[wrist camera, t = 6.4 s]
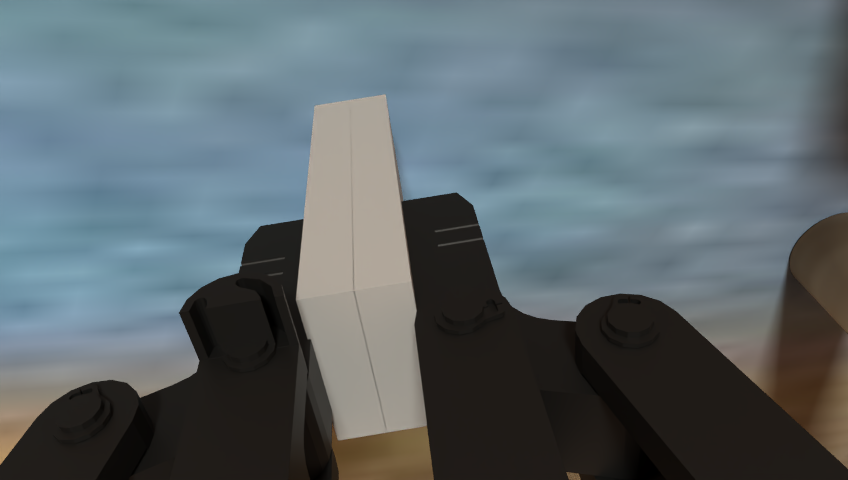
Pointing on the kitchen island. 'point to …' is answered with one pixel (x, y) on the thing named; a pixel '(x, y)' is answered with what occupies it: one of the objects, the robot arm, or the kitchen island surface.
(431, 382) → the robot arm
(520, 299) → the kitchen island surface
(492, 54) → the kitchen island surface
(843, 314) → the post
